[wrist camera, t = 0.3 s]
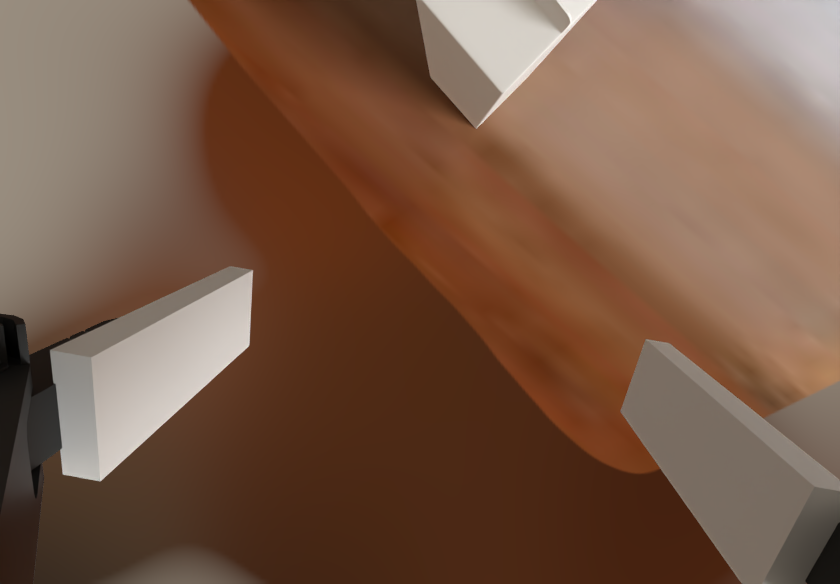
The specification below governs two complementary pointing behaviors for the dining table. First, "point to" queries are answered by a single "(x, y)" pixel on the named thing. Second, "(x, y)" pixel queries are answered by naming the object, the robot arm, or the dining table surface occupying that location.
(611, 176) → the dining table surface
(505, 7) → the milk
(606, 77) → the dining table surface
